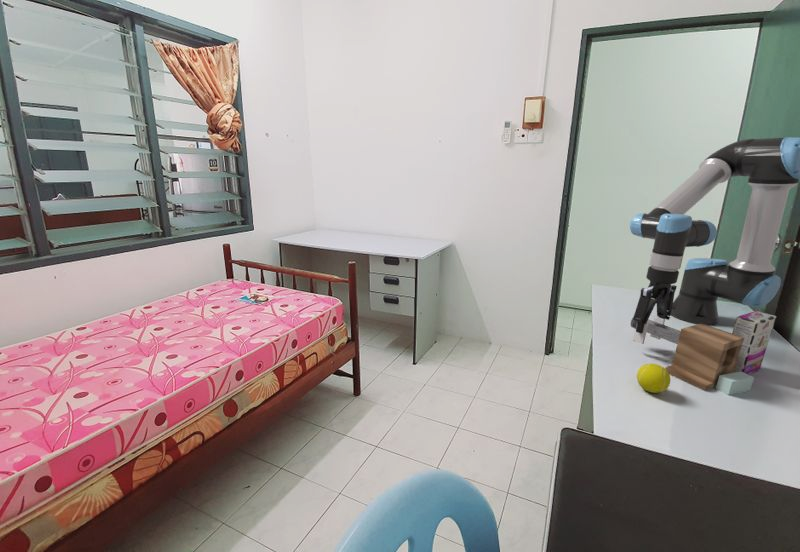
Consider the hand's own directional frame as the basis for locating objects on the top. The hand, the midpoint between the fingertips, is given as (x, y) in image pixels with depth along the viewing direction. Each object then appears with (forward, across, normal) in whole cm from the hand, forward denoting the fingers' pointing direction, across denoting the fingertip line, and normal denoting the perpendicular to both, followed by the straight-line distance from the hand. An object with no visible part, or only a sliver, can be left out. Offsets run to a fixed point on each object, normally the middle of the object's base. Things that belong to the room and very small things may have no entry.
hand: (647, 339), depth 118 cm
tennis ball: (+4, +21, +14) cm, 26 cm away
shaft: (-2, 0, +6) cm, 6 cm away
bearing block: (+4, 0, +16) cm, 16 cm away
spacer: (+2, 0, +22) cm, 22 cm away
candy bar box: (+4, -15, +18) cm, 24 cm away
